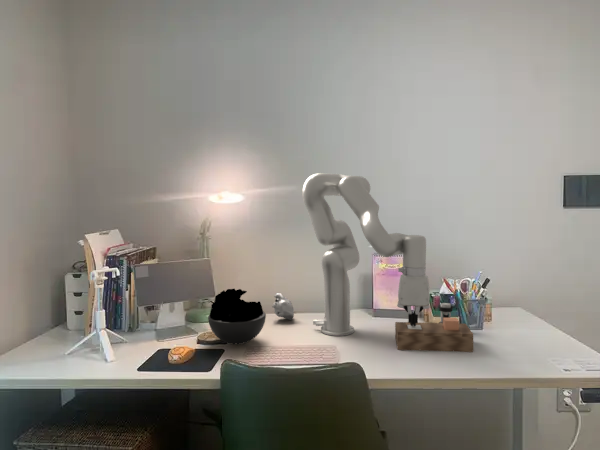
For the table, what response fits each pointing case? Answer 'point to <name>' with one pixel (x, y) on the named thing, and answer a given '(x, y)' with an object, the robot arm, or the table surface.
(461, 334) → the button box
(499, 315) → the table surface
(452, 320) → the orange block
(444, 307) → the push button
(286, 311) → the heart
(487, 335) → the table surface
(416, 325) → the grey plunger
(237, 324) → the coal bowl
